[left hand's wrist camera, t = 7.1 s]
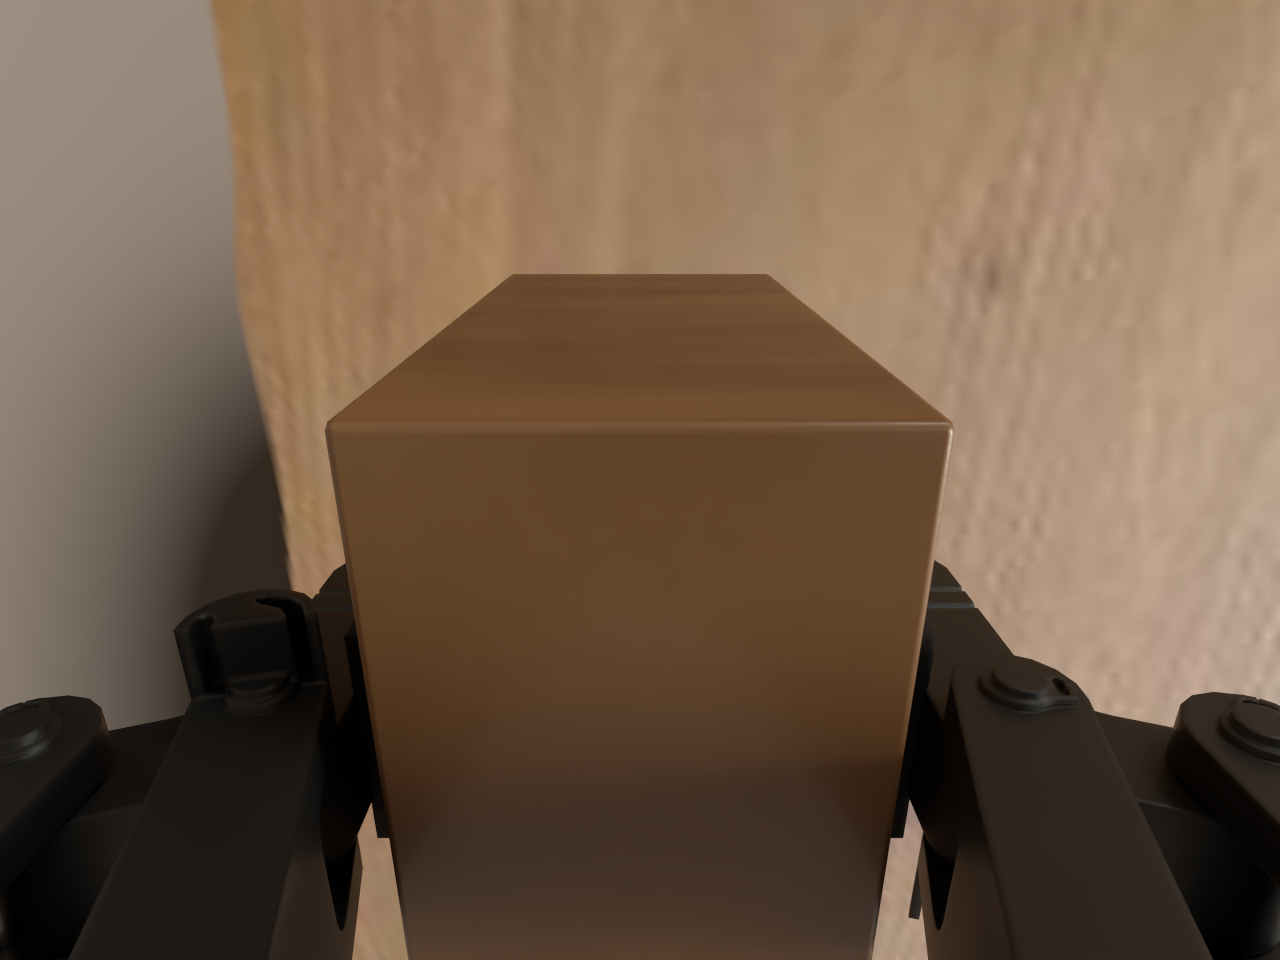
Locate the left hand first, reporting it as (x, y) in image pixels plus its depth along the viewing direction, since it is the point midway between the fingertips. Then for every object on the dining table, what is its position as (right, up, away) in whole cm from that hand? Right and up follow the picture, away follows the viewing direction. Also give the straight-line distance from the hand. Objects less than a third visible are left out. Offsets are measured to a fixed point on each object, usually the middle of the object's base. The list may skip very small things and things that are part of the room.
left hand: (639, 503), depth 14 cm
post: (0, -24, +10) cm, 26 cm away
